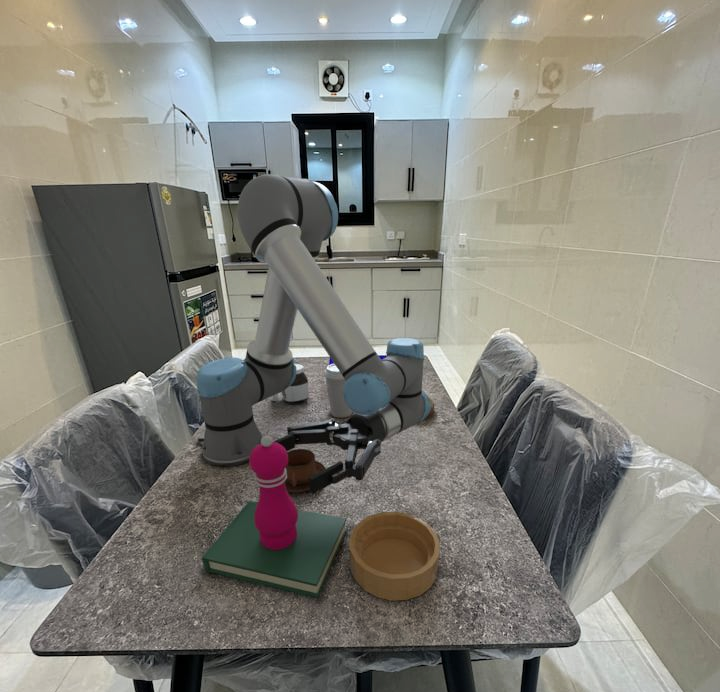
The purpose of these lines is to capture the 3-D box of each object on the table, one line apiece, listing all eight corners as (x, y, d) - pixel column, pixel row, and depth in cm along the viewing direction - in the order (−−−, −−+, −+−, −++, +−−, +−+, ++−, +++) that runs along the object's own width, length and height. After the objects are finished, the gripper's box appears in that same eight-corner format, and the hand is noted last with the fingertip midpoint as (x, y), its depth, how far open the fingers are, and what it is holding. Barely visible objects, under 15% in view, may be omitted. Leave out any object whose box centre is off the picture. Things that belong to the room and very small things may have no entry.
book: (204, 571, 64) (201, 557, 63) (251, 512, 77) (249, 500, 76) (317, 598, 59) (316, 584, 58) (346, 530, 72) (346, 518, 71)
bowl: (339, 590, 60) (337, 566, 58) (363, 526, 73) (363, 505, 71) (432, 612, 56) (435, 587, 54) (441, 541, 69) (443, 519, 67)
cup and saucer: (332, 491, 83) (330, 467, 81) (276, 502, 80) (272, 477, 78) (321, 462, 94) (319, 440, 91) (271, 470, 91) (268, 448, 88)
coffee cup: (353, 421, 114) (352, 373, 108) (322, 418, 116) (319, 371, 110) (359, 407, 122) (358, 362, 116) (330, 405, 124) (328, 361, 118)
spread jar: (312, 402, 127) (310, 369, 122) (281, 411, 121) (277, 376, 116) (297, 391, 136) (294, 359, 131) (266, 398, 130) (262, 366, 125)
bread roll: (399, 424, 119) (396, 408, 113) (407, 400, 125) (405, 383, 119) (431, 430, 115) (429, 413, 110) (438, 404, 121) (437, 387, 116)
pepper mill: (280, 559, 62) (266, 453, 54) (248, 542, 66) (231, 440, 58) (308, 531, 68) (299, 432, 60) (277, 517, 71) (265, 421, 63)
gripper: (422, 465, 71) (336, 522, 57) (333, 423, 87) (249, 459, 73) (424, 429, 68) (334, 481, 54) (331, 392, 84) (244, 425, 70)
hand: (285, 469), depth 64 cm, fingers open, 13 cm apart
